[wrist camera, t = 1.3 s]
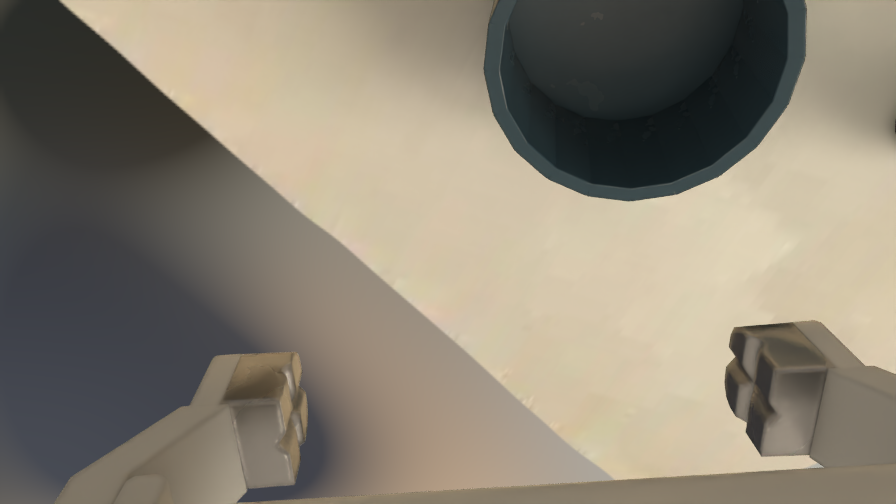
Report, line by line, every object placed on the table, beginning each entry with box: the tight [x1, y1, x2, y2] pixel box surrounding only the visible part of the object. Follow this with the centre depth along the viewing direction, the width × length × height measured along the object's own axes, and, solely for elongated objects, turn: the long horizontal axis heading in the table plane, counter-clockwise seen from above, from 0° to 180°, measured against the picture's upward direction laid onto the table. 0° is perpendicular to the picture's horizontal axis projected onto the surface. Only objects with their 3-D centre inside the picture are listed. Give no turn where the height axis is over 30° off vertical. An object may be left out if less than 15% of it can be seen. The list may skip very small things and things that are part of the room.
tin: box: [484, 0, 807, 201], centre depth 37 cm, size 15×15×10 cm
